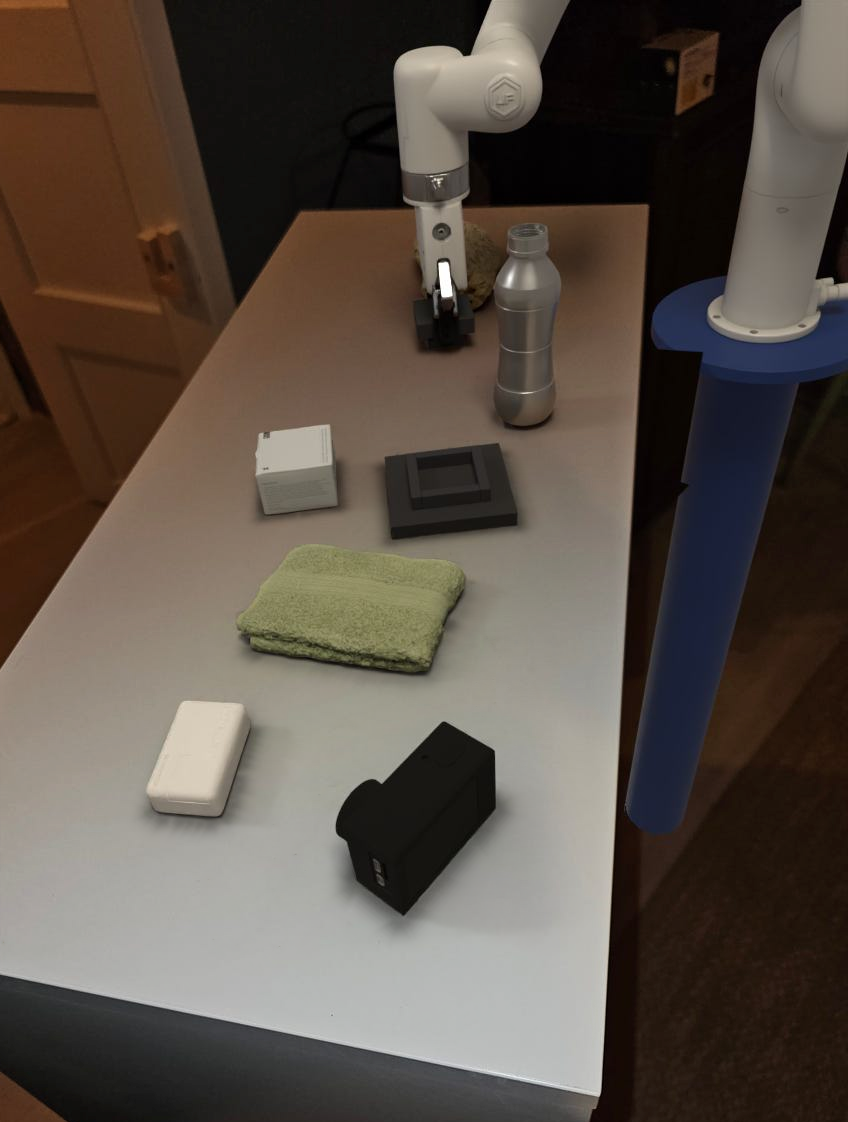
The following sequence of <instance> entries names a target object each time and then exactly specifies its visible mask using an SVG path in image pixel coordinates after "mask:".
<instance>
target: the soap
mask: <svg viewBox="0 0 848 1122" xmlns="http://www.w3.org/2000/svg"><path fill="white" fill-rule="evenodd" d="M250 729H251V721H250V718H249V715H248V711H247V709H246V707H245V705H244V704H242V703H239V702H227V701H225V702H224V701H203V700H184V701H182V702H181V703H180V704H179V707H178V709H177V711H176V714H175V716H174V718H173V720H172V724H171V726H170V729H169V731H168V733H167V736H166V738H165V741H164V744H163V746H162V748H161V751H160V752H159V756H158V758H157V761H156V763H155V766H154V768H153V771H152V773H151V775H150V778H149V781H148V783H147V785H146V789H145V792H146V796H147V798H148V800H149V801H150V803H151V805H152V807H153V808H154V810H155V811H156V812H159V813H167V814H179V815H188V816H189V815H190V816H204V817H218V816H220V815H222V813H223V812H224V809H225V807H226V804H227V800H228V798H229V794H230V791H231V787H232V786H233V785H232V784H233V782H234V779H235V775H236V774H237V769H238V766H239V763H240V760H241V757H242V754H243V750H244V748H245V744H246V741H247V739H248V735H249V732H250Z"/></svg>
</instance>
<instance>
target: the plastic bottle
mask: <svg viewBox="0 0 848 1122" xmlns="http://www.w3.org/2000/svg"><path fill="white" fill-rule="evenodd" d="M549 248H550V243H549V230H548V227H547V226H546V225H544V224H542V223H536V222H525V223H519V224H516V225H514V226H511V227H510V228H509V229H508V230H507V245H506V253H507V254H508V255H509V257H508V258H507V260H506V261H505V263H504V264H503V266H502V267H501V268H500V271H499V272H498V274H497V276H496V277H495V284H494V288H493V297H494V303H495V310H496V318H497V326H498V339H499V342H498V343H499V344H498V345H499V355H498V365H497V375H496V380H495V383H494V389H493V390H494V391H493V397H492V399H493V404H494V409H495V412H496V414H497V415H498V417H499V418H500V419H501V420H502V422H505V423H506V424H509V425H513V426H517V427H518V426H519V427H526V426H533V425H537V424H540V423H542V422H544V421H545V420H546V419H547V418H548V417H549V416H550V415H551V414H552V412H553V410H554V408H555V403H556V399H557V387H556V380H555V376H554V358H553V357H554V356H553V344H554V335H555V325H556V319H557V314H558V308H559V303H560V298H561V295H562V294H561V293H562V287H563V286H562V285H563V283H562V279H561V275H560V272H559V270H558V268H556V266H555V264H554V263H553V262H552V260H551V259H550V258H549V256H548V255H547V252H548V251H549Z"/></svg>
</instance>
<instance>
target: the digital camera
mask: <svg viewBox="0 0 848 1122" xmlns="http://www.w3.org/2000/svg"><path fill="white" fill-rule="evenodd" d="M496 778H497V777H496V750H494V748H492V747H490V746H489V745H487V744H485V743H483V742H482V741H480V740H479V739H477V738H475V737H473V736H472V735H470V734H468V733H466V732H464V731H463V730H461V729H459V728H458V727H456V726H454V725H452V724H450V723H449V722H447V721H445V720H444V721H441V722H440V723H439V724H438V725H437V726H436V727H435V728H434V729H433V730H432V732H430V733H429V734H428V735H427V737H425V739H424V740H422V742H421V743H420V744H419V745H418V746H417V747H416V748H415V749H414V750H413V751H412V752H410V754H409V755H408V756H407V757H406V758H405V759H404V760H403V761H402V762H401V763H400V764H399V765H398V766H397V767H396V769H395V770H393V772H391V774H390V775H389V776H387V778H386V779H385V780H383V782H381V781H379V780H377V779H375V778H370V779H366V780H364V781H363V782H361V783H360V784H358V785H357V786H356V787H355V788H354V789H353V790H352V791H351V792H350V793H349V795H348V796H347V797H346V798H345V800H344V802H343V803H342V805H341V806H340V809H339V811H338V814H337V816H336V820H335V833H336V835H337V836H338V837H339V838H341V839H342V840H343V841H345V842H346V845H347V848H348V853H349V856H350V860H351V861H350V862H351V865H352V868H353V873H354V876H355V880H356V881H357V883H359V884H361V886H363V887H365V889H367V890H368V891H370V892H371V893H373V894H374V895H375V896H376V897H378V898H379V899H380V900H382V901H383V902H385V904H387V905H388V906H390V907H391V908H392V909H393V910H394V911H396V912H397V913H399V914H400V915H402V917H403V916H405V915H406V914H407V913H408V912H409V910H410V909H411V908H412V907H413V906H414V905H415V904H416V902H417V901H418V900H419V899H420V898H421V896H422V895H423V894H424V893H425V892H426V891H427V889H428V888H429V887H430V886H431V885H432V884H433V882H434V881H435V880H436V879H437V878H438V877H439V875H440V874H441V873H442V872H443V871H444V870H445V869H446V867H447V866H448V865H449V864H450V863H451V862H452V860H453V859H454V858H455V857H456V856H457V854H458V853H459V852H460V851H461V850H462V849H463V847H464V846H465V845H466V844H467V843H468V842H469V840H470V839H471V838H472V837H473V836H474V834H475V833H476V832H477V831H478V830H479V829H480V828H481V826H482V825H483V824H484V823H485V822H486V821H487V820H488V818H489V817H490V816H491V815H492V814H493V812H495V810H496V809H497V788H496V787H497V784H496V783H497V779H496Z"/></svg>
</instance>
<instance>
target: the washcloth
mask: <svg viewBox="0 0 848 1122" xmlns="http://www.w3.org/2000/svg"><path fill="white" fill-rule="evenodd" d="M466 580H467V575H466V574H465V572H464V570H462V568H461V567H460V566H459V565H458V564H456V563H454V562H452V561H449V560H448V559H439V558H412V557H407V556H401V555H398V554H393V553H382V552H375V551H363V550H354V549H350V548H347V547H346V548H344V547H340V546H339V547H338V546H333V545H329V544H322V543H309V544H303V545H298V546H295V547H293V548H292V549H291V550H290V551H289V552H288V553H287V554H286V555H285V558H284V560H283V561H282V562H281V563H280V565H278V567H277V568H276V569H275V570H274V571H273V573H272V574H270V576H268V578H266V579H265V580H264V582H263V583H262V584H261V585H260V587H259V589H258V593H257V595H256V597H255V599H254V600H253V602H252V603H251V604H250V605H249V606H248V607H247V609H245V610H244V611H242V613H241V614H240V615H239V616H238V617H237V619H236V621H235V625H236V630H237V631H239V632H240V634H242V635H244V636H245V637H250V641H249V642H250V643H249V644H250V646H251V649H255V650H257V651H261V652H270V653H275V654H284V655H289V656H290V657H294V658H301V657H305V658H306V657H307V658H312V659H315V660H322V661H329V662H330V661H331V662H335V663H340V662H341V663H342V664H347V665H357V666H361V667H368V668H374V667H375V668H378V669H381V668H382V669H388V670H391V671H405V672H406V673H416V672H417V673H418V672H421V671H426V670H429V667H430V666H431V664H432V663H433V661H432V659H433V657H434V656H435V647H437V646H439V643H438V642H439V641H440V639H441V638H442V635H443V632H444V631H445V628H444V626H443V625H444V623H445V620H446V618H447V616H448V613H449V611H451V610H453V609H454V607H455V606H456V601H457V600H458V598H459V596H460V595H461V593H462V591H463V589H464V588H465V587H466Z"/></svg>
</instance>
